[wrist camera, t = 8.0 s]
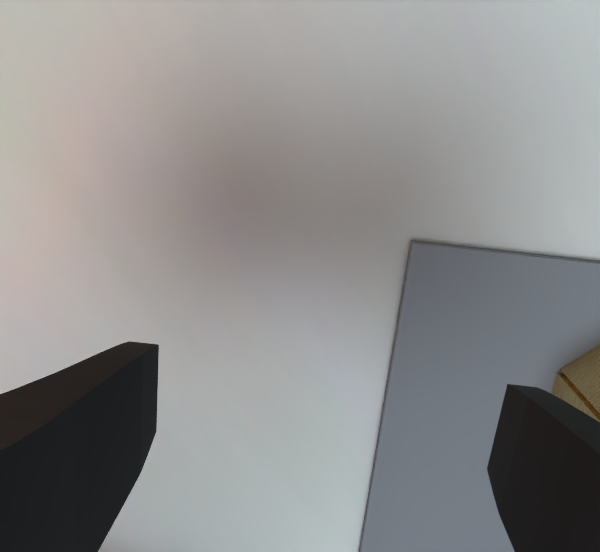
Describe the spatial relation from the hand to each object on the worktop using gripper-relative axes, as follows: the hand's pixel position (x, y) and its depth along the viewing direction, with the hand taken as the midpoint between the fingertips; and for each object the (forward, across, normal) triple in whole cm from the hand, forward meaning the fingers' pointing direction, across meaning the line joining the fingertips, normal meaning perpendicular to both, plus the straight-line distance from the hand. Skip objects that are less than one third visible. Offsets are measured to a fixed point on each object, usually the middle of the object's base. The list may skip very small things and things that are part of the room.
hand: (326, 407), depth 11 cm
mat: (+10, -10, +6) cm, 15 cm away
